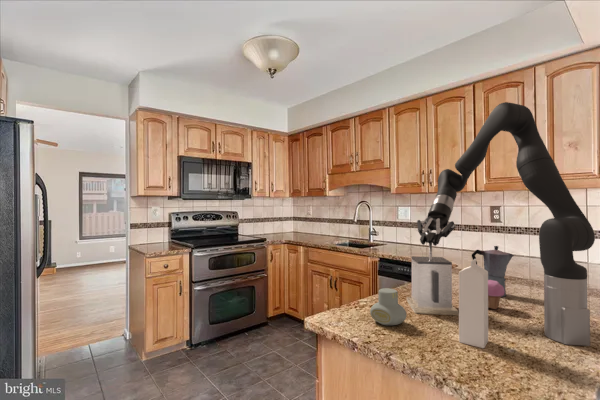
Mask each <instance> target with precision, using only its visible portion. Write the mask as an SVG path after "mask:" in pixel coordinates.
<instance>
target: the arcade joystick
mask: <svg viewBox="0 0 600 400" xmlns="http://www.w3.org/2000/svg"><path fill="white" fill-rule="evenodd" d="M452 278H453V262H451V261H450V260H448V259H446V258H444V257H443V256H432V260H429V256H411V296H406V302H407V304H408V306H410V309H411V310H412V311H413V313H414V314H423V315H441V316H442V315H444V316H445V315H446V316H459V309H457V308H456V307H454V306H453V282H452V281H453V279H452Z"/></svg>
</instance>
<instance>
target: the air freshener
mask: <svg viewBox="0 0 600 400" xmlns="http://www.w3.org/2000/svg"><path fill="white" fill-rule="evenodd" d="M398 292H399V291H398V290H396V289H395V288H391V287H390V288H388V287H385V288H380V289H379V290H378V297H377V298H378V300H377V301H378V302H376V303H374V304H373V305H372V306H371V307H370V310H369V311H370V312H369V313H370V316H371V317H372V319H373V320H374V321H375V322H377V323H379V324H380V325H382V326H387V327H390V326H398V325H400V324H402V323H403V322H405V320H406V318H407V311H406V309H405V308H404V307H403V306H402V305H401V304H400V303H399V293H398Z"/></svg>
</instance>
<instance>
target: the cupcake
mask: <svg viewBox="0 0 600 400" xmlns="http://www.w3.org/2000/svg"><path fill="white" fill-rule="evenodd" d="M505 291H506V290H505ZM505 291H504V287H503V286H502V285H500V284H499V282H497V281H493V280H488V309H493V310H497V309H498V308H499V305H500V301H501V298H502V297H501V296H503V295H504V293H505Z"/></svg>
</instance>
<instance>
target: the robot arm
mask: <svg viewBox="0 0 600 400" xmlns="http://www.w3.org/2000/svg"><path fill="white" fill-rule="evenodd" d="M500 132H507V133H510V134H511V136H512V137H513V139H514V141H515V144H516V145H517V149H518V151H517V157H516V161H515V162H516V163H515V164H516V165H515V166H516V169H517V172H518V174H519V177H520V179H521V182H522V183H523V185H524V186H525V188H526V189H527V190H528V191H529V192H530V193H532V195H534V196H535V197H536V198H537V199H539V201H541V202H542V203H543V204H544V205H545V206H546V207H547V208H548V210H549V211H550V213H551V215H552V217H553V218H548V219H546V220H545V221H544V222H542V223H541V226H540V227H539V232H538V244H539V256H540V258H539V259H540V263H541V265H542V268H543V281H544V282H543V299H544V300H543V301H544V302H543V308H544V309H543V310H544V311H543V313H544V314H543V315H544V317H543V319H544V324H543V325H544V331H543V332H544V335H545V336H546V337H547V338H548V339H551V340H552V341H555V342H559V343H562V344H564V345H570V346H573V345H574V346H586V347H587V346H588V347H590V346H591V312H590V309H589V308H588V270H587V268H586V267H584V266H583V265H581V264H578V263H577V262H576V261H575V259H574V252H583V251H587V250H589V249H591V248H592V247H593V246H594V243H595V241H596V234H595V231H594V229H593V228H594V227H592V224H591V223H590V221H589V220H588V218H587V217H586V215H585V214H584V212H583V210H581V208H580V207H579V205H578V204H577V202H576V201H575V199H574V198H573V196H572V194H571V192H570V190H569V188H568V187H567V185H566V184H565V182H564V179H563V178H562V175H561V173H560V171H559V169H558V167H557V165H556V163H555V161H554V159H553V158H552V155H551V154H550V152H549V150H548V148H547V146H546V145H545V143H544V140H543V138H542V137H541V135H540V133H539V129H538V126H537V123H536V120H535V119H534V115H533V112H532V111H531V110H530V108H529V107H527V106H525V105H523V104H519V103H513V102H509V101H508V102H501V103H499V104H497V105H496V106H495V107H494V108H493V109H492V111H491V112H490V113H489V115H488V117H486V120H485V121H484V123H483V125H482V126H481V128H480V129H479V131H478V133H477V134H476V136H475V137H474V139H473V141H472V142H471V144H470V145H469V146H468V148H467V149H466V150H465V151H464V152H463V154H462V155H461V156H460V157H459V159H457V161H455V162H454V163H455V164H454V168H455V169H456V171H457V172H458V173H457V172H456V171H454V170H452V169H450V168H445V169H443V170H442V171H440V173H439V175H438V178H437V193H436V195H435V198H434V199H433V201H432V204H431V205H430V207H429V210H428V213H427V217H426V218H425V219H424V220H420V219H418V220H417V221H416V222H417V223H416V224H417V232H418V233H419V235H420V238H419V241H420V243H421V245H424V246H425V244H426V242H425V232H433V231H435V233H436V234H435V236H434V239H433V243H432V246H435V247H437V245H439V243H440V240H441V239H442V238H443V237H444V238H447V237H448V236H449V235H450V234H451V233H452V232H453V231H454V230H455V228H456V224H455V222H454V221H453V220H452V221H450V218H451V216H452V212H453V209H454V205H455V202H456V201H455V200H456V199H457V196H458V194H457V193H459V192H461V191H463V190H464V188H465V187H466V184H467V183H468V180H469V178H470V176H471V175H472V174H473V172H474V171H475V170H476V169H477V168H479V166H480V165H481V163H483V161H484V160H485V158H486V157H487V153H488V149H489V146H490V143H491V142H492V140H493V139H494V137H496V136H497V135H498V134H499V133H500Z"/></svg>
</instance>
